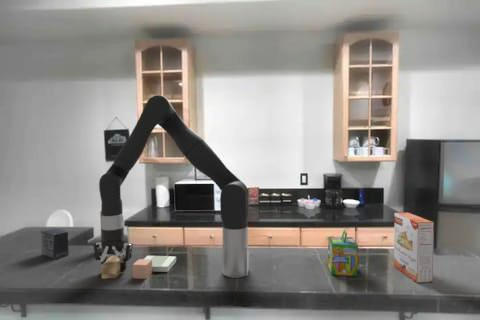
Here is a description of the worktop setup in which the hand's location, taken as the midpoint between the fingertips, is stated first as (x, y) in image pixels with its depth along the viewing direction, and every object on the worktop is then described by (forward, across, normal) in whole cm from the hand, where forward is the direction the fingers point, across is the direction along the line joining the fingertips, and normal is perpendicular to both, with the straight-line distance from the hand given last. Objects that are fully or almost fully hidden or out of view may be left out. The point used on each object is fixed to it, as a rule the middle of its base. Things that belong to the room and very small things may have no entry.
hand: (113, 271), depth 110 cm
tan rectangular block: (+1, 0, 0) cm, 1 cm away
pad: (+1, -14, -8) cm, 15 cm away
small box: (+1, +34, -15) cm, 38 cm away
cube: (+1, -12, +1) cm, 12 cm away
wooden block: (+1, +14, -24) cm, 28 cm away
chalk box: (+1, -84, -9) cm, 84 cm away
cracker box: (+1, -108, -8) cm, 108 cm away
